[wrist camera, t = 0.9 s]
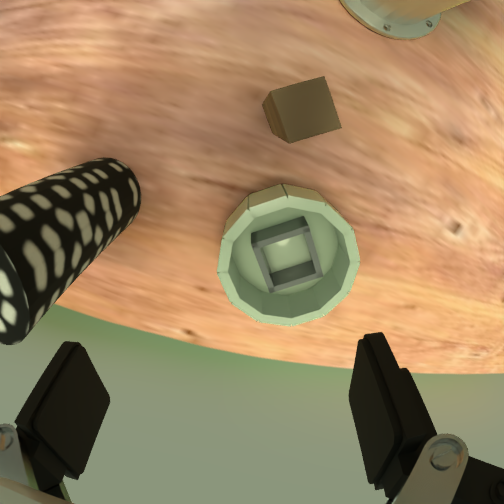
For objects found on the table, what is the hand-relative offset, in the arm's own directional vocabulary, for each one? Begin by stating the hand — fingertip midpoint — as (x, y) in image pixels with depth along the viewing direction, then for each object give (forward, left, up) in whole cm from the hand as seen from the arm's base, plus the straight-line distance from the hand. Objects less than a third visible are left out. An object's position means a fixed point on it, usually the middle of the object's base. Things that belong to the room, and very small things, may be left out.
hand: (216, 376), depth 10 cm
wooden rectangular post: (-7, -6, -24) cm, 25 cm away
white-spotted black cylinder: (+13, -5, -24) cm, 28 cm away
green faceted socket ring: (-3, +7, -24) cm, 25 cm away
